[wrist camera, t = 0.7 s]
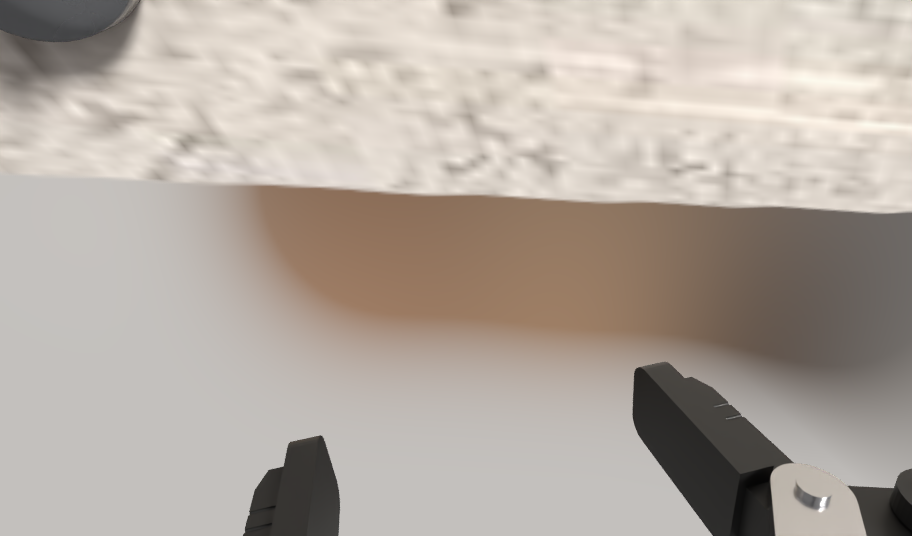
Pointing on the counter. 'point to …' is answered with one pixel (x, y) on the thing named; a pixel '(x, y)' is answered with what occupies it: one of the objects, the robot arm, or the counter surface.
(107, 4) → the ratchet
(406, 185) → the counter surface
